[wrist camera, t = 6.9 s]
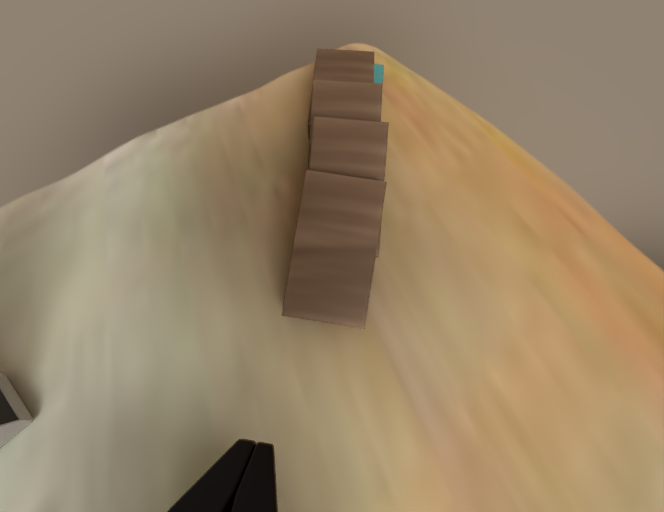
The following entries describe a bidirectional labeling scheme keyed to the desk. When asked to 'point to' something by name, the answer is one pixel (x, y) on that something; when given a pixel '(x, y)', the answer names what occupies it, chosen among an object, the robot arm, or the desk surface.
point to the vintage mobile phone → (11, 411)
